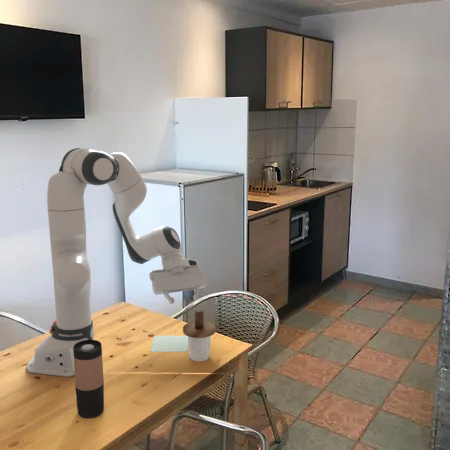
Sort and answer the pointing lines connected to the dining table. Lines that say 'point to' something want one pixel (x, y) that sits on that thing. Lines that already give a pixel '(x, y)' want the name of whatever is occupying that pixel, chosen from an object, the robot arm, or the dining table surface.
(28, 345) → the dining table surface
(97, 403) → the travel mug
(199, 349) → the white cup
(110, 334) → the dining table surface
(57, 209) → the robot arm
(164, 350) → the mat
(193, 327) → the lid
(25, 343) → the dining table surface
